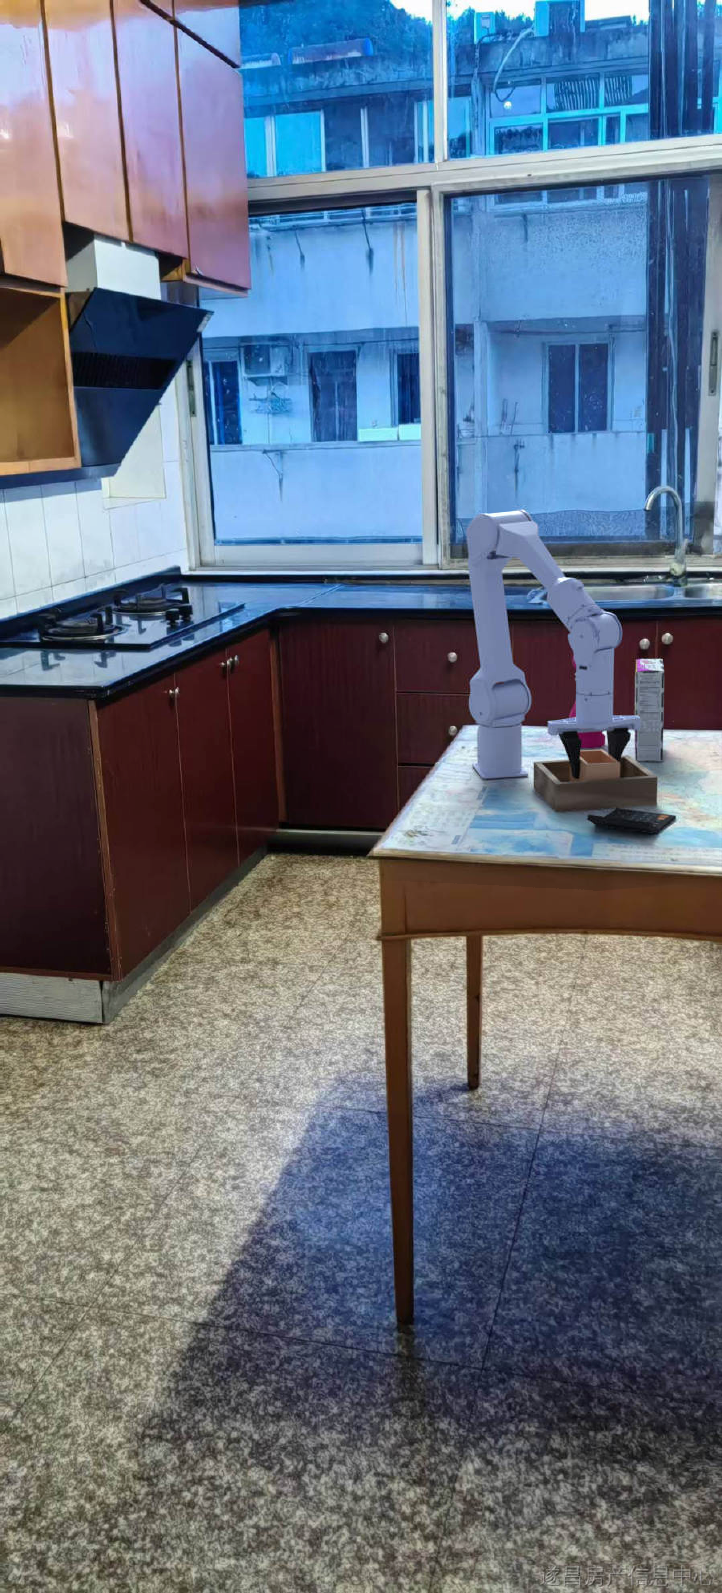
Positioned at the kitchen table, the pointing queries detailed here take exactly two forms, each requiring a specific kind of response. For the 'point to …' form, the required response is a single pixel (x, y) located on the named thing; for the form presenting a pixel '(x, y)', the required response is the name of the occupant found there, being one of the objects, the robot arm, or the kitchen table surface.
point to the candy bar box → (649, 709)
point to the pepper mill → (588, 737)
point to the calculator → (633, 820)
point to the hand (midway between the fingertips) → (593, 775)
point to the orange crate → (596, 766)
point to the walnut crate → (595, 787)
